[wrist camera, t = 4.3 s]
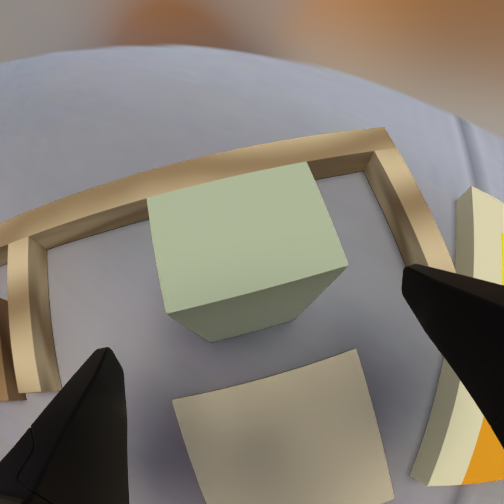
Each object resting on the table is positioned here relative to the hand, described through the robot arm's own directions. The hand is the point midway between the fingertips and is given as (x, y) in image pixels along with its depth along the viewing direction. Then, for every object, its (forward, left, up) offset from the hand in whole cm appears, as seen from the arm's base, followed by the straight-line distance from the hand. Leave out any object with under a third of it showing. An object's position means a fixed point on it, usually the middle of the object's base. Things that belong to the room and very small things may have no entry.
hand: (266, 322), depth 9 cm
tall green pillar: (+2, +2, -10) cm, 10 cm away
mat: (-6, -5, -10) cm, 12 cm away
